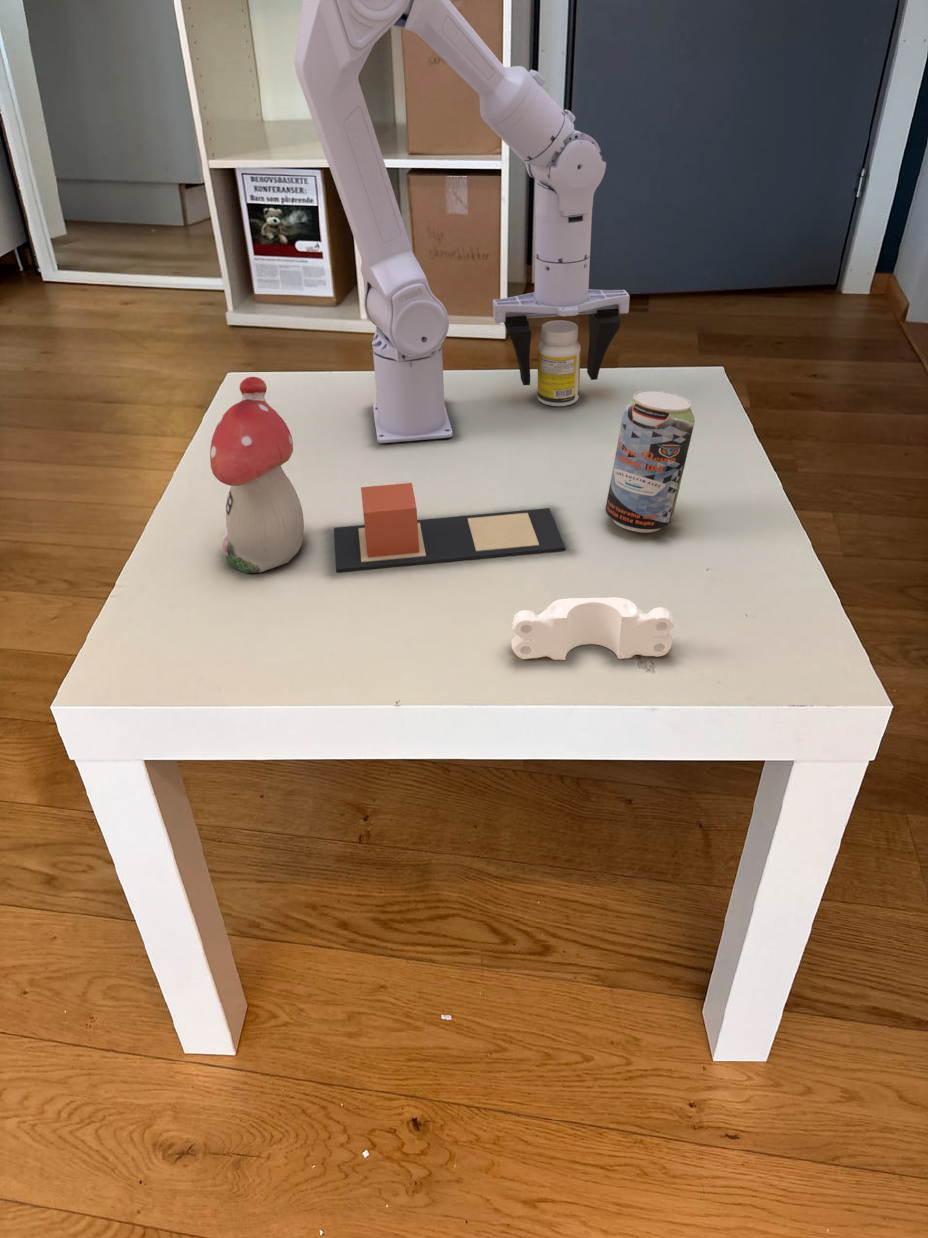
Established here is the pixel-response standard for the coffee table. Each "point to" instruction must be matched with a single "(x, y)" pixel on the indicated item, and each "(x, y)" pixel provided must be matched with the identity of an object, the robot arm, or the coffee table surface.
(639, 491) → the beverage can
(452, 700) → the coffee table surface
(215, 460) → the decorative ornament
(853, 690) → the coffee table surface
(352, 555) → the black rectangular board
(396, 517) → the orange red cube
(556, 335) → the supplement bottle
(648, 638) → the pipe clamp
